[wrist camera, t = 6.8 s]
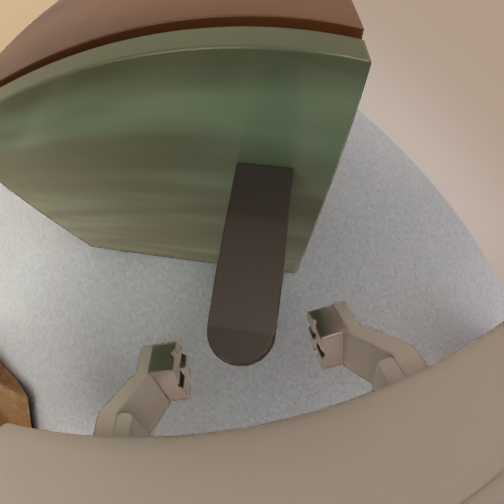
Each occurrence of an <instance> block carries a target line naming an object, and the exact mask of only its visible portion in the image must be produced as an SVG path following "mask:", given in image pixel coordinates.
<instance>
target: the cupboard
mask: <svg viewBox="0 0 504 504" xmlns="http://www.w3.org/2000/svg"><path fill="white" fill-rule="evenodd" d="M235 26H254V27H279V28H292V29H302V30H311V31H318V32H325V33H332V34H337V35H343V36H348V37H353V38H358V39H362V35H363V31H364V28H363V26H362V23H361V21H360V18H359V16H358V14H357V11H356V9H355V7H354V5H353V2H352V0H59V1H58V2H57V3H55V4H54V5H53V6H51V7H50V8H49V9H48V10H46V11H45V12H44V13H43V14H41V15H40V16H39V17H38V18H37V19H35V20H34V21H33V22H32V23H31V24H30V25H29V26H27V27H26V28H25V29H24V30H23V31H22V32H21V33H20V34H19V35H18V36H17V37H16V38H15V39H14V40H13V41H12V42H11V43H10V44H9V45H8V46H7V47H6V48H5V49H4V50H3V51H2V52H1V53H0V87H2V86H4V85H6V84H8V83H10V82H12V81H14V80H15V79H17V78H19V77H21V76H24V75H26V74H28V73H30V72H32V71H34V70H36V69H39V68H41V67H43V66H46V65H48V64H51V63H53V62H56V61H58V60H61V59H63V58H66V57H69V56H72V55H74V54H77V53H80V52H83V51H87V50H90V49H93V48H96V47H100V46H103V45H107V44H111V43H115V42H119V41H123V40H127V39H131V38H136V37H141V36H146V35H152V34H158V33H164V32H171V31H178V30H187V29H197V28H210V27H235Z"/></svg>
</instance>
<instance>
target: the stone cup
mask: <svg viewBox="0 0 504 504" xmlns="http://www.w3.org/2000/svg"><path fill="white" fill-rule="evenodd" d="M5 423H12V424H16V425H20V426H25V427H30V428H32V427H31V418H30V409H29V401H28V397H27V395H26V393H25V392H24V390H23V388H22V387H21V385H20V383H19V382H18V381H17V380H16V378H15V377H14V376H13V375H12V374H11V372H9V371H8V370H6V368H5V367H4V366H3V365H2V364H1V363H0V427H1V426H2V425H3V424H5Z"/></svg>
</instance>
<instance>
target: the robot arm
mask: <svg viewBox="0 0 504 504" xmlns="http://www.w3.org/2000/svg"><path fill="white" fill-rule="evenodd" d="M307 316H308V321H309V324H310V327H309V334H310V339H311V343H312V346H313V348H314V350H315V351H317V358H318V360H319V363H320V365H321V368H322V370H324V369H328V368H332V367H335V366H338V365H342V364H343V365H344V366H345V367H347V368H348V369H350V370H351V371H353V372H354V373H356V374H357V375H359V376H361V377H362V378H364V379H365V380H367V381H368V382H370V383H371V384H373V387H372V392H370V393H367V394H364V395H362V396H359V397H356V398H353V399H351V400H348V401H345V402H342V403H339V404H336V405H333V406H329V407H326V408H323V409H320V410H316V411H313V412H309V413H306V414H302V415H298V416H294V417H290V418H286V419H282V420H278V421H273V422H269V423H264V424H259V425H254V426H248V427H243V428H237V429H230V430H224V431H216V432H208V433H199V434H189V435H177V436H159V437H154V436H153V435H152V434H151V433H152V431H153V430H154V428H155V427H156V425H157V423H158V422H159V420H160V419H161V417H162V416H163V414H164V412H165V411H166V409H167V408H168V406H169V404H170V403H171V402H170V401H176V400H183V399H189V398H190V384H189V382H188V380H189V378H190V377H191V370H190V364H189V361H188V359H187V357H186V355H184V354H183V353H182V347H181V345H180V343H179V342H177V341H175V342H168V343H161V344H154V345H148V346H143V347H142V349H141V352H140V357H139V361H138V366H137V370H136V375H135V376H132V377H131V378H130V379H129V380H128V381H127V382H126V383H125V384H124V385H123V387H122V388H121V389H120V390H119V391H118V392H117V393H116V394H115V395H114V396H113V397H112V398H111V399H110V400H109V402H108V403H107V404H106V405H105V406H104V407H103V408H102V409H101V410H100V411H99V413H98V417H97V421H96V425H95V430H94V434H93V436H90V435H79V434H69V433H61V432H53V431H47V430H41V429H35V428H30V427H25V426H20V425H16V424H12V423H5V424H3V425H2V426H1V427H0V504H504V322H502V323H501V324H499V325H498V326H496V327H495V328H494V329H492V330H491V331H489V332H488V333H486V334H485V335H483V336H481V337H480V338H478V339H477V340H475V341H474V342H472V343H470V344H469V345H467V346H465V347H464V348H462V349H460V350H458V351H457V352H455V353H453V354H451V355H450V356H448V357H446V358H444V359H442V360H440V361H438V362H437V363H435V364H433V365H431V366H429V367H428V366H427V364H426V363H425V361H424V360H423V358H422V357H421V356H420V354H419V353H418V351H417V350H416V349H415V347H414V346H413V345H410V344H408V343H406V342H403V341H401V340H398V339H396V338H393V337H391V336H389V335H386V334H384V333H382V332H379V331H377V330H374V329H372V328H370V327H367V326H365V325H364V326H361V325H360V324H359V322H358V321H357V319H356V318H355V316H354V314H353V313H352V311H351V310H350V308H349V307H348V305H347V304H346V302H344V301H342V302H339V303H336V304H332V305H330V306H326V307H323V308H320V309H316V310H313V311H309V312H308V313H307Z"/></svg>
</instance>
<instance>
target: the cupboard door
mask: <svg viewBox="0 0 504 504" xmlns="http://www.w3.org/2000/svg"><path fill="white" fill-rule="evenodd" d="M370 66H371V60H370V57H369V54H368V51H367V48H366V45H365V42H364V41H363V40H361V39H358V38H353V37H348V36H343V35H337V34H332V33H325V32H318V31H311V30H302V29H292V28H279V27H254V26H235V27H210V28H197V29H187V30H178V31H171V32H164V33H158V34H152V35H146V36H141V37H136V38H131V39H127V40H123V41H119V42H115V43H111V44H107V45H103V46H100V47H96V48H93V49H90V50H87V51H83V52H80V53H77V54H74V55H72V56H69V57H66V58H63V59H61V60H58V61H56V62H53V63H51V64H48V65H46V66H43V67H41V68H39V69H36V70H34V71H32V72H30V73H28V74H26V75H24V76H21V77H19V78H17V79H15V80H14V81H12V82H10V83H8V84H6V85H4V86H2V87H0V183H2V184H3V185H4V186H6V187H7V188H8V189H9V190H11V191H12V192H13V193H15V194H16V195H17V196H19V197H20V198H21V199H23V200H24V201H26V202H27V203H28V204H30V205H31V206H32V207H34V208H35V209H37V210H38V211H39V212H41V213H42V214H44V215H45V216H47V217H48V218H49V219H51V220H52V221H54V222H55V223H57V224H58V225H60V226H61V227H63V228H64V229H66V230H67V231H69V232H70V233H72V234H73V235H75V236H76V237H78V238H79V239H81V240H82V241H84V242H86V243H87V244H89V245H90V246H93V247H100V248H107V249H114V250H121V251H128V252H135V253H143V254H150V255H157V256H164V257H172V258H179V259H187V260H195V261H202V262H210V263H218V264H217V270H216V275H215V281H214V287H213V293H212V299H211V305H210V312H209V318H208V324H207V326H208V327H207V338H208V342H209V345H210V347H211V349H212V351H213V352H214V353H215V355H216V356H217V357H218V358H219V359H221V360H222V361H224V362H226V363H228V364H230V365H234V366H249V365H252V364H255V363H257V362H259V361H261V360H262V359H263V358H264V357H266V355H267V354H268V353H269V352H270V350H271V349H272V347H273V344H274V341H275V335H276V329H277V321H278V313H279V305H280V297H281V289H282V280H283V272H292V273H296V271H297V269H298V266H299V264H300V262H301V259H302V257H303V254H304V252H305V249H306V247H307V245H308V242H309V240H310V237H311V235H312V232H313V230H314V227H315V225H316V222H317V219H318V217H319V214H320V212H321V209H322V207H323V204H324V201H325V199H326V196H327V193H328V191H329V188H330V185H331V183H332V180H333V177H334V174H335V172H336V169H337V166H338V163H339V161H340V158H341V155H342V152H343V149H344V146H345V144H346V141H347V138H348V135H349V132H350V129H351V126H352V123H353V120H354V117H355V114H356V111H357V108H358V104H359V102H360V99H361V95H362V92H363V89H364V86H365V83H366V79H367V76H368V73H369V69H370Z"/></svg>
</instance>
